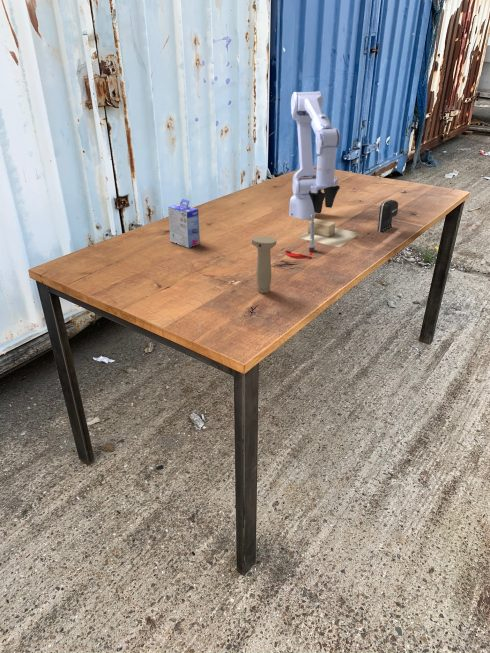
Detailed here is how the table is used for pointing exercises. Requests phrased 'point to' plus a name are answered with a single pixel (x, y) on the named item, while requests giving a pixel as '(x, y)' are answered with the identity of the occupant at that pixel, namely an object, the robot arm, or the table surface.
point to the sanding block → (323, 228)
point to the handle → (264, 261)
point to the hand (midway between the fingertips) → (323, 209)
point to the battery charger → (387, 215)
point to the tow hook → (312, 242)
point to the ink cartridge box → (184, 224)
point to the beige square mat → (332, 237)
